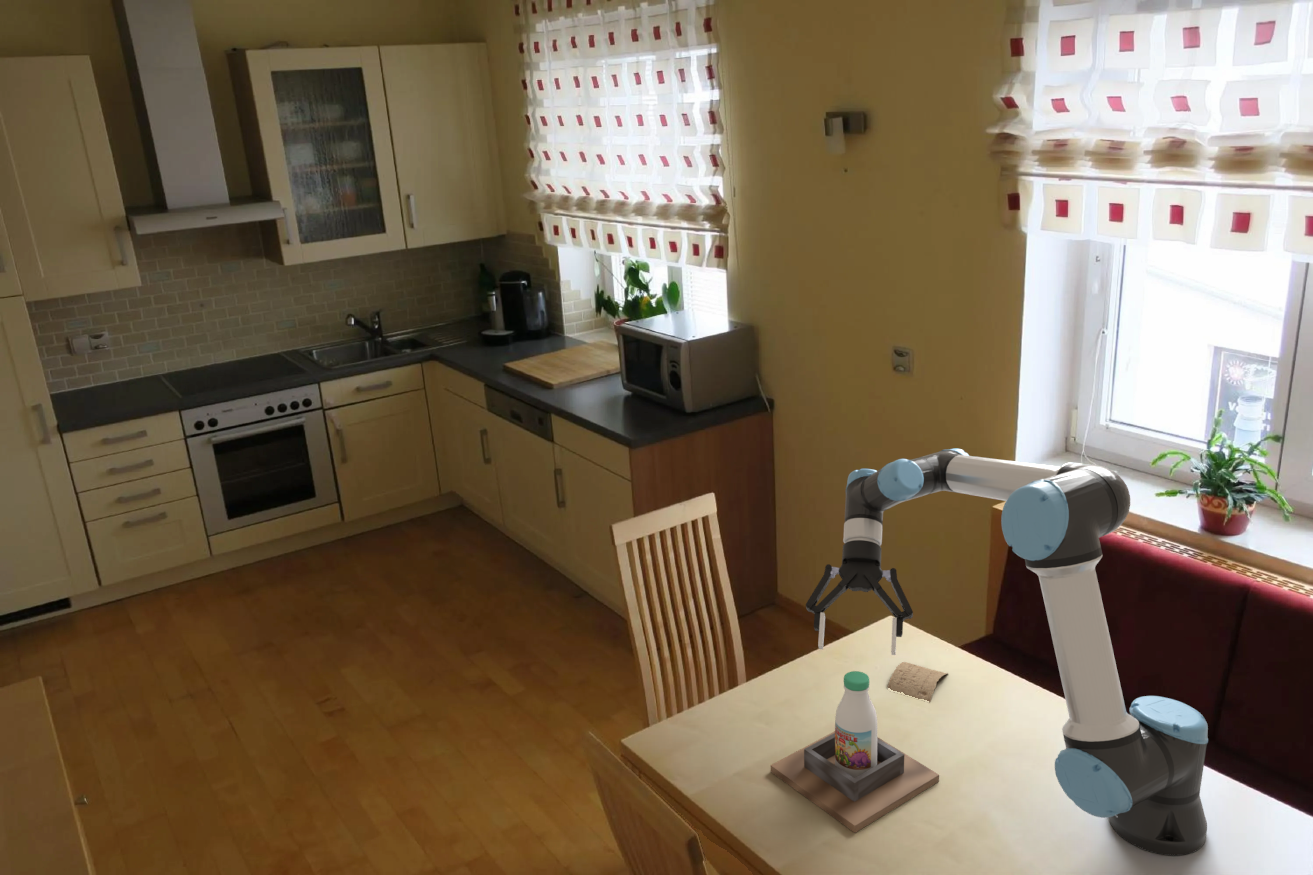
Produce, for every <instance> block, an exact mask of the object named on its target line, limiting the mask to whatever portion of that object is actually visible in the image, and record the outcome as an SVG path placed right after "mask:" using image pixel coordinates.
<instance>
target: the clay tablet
mask: <svg viewBox="0 0 1313 875" xmlns="http://www.w3.org/2000/svg"><path fill="white" fill-rule="evenodd" d="M945 675H948V672H943V671H939V670H935V669H931V668H928V667H924V666H921V665H917V664H913V663H911V662H906V661H904V662H901V663H899V664H898V665H897V666H895V669H894V671H893V672H892V674H891V677H890V679H889V680H888V681H889V682H888V684H887V687H888V688H890V689H891V690H893V691H897V692H900V693H901V692H903V693H904V694H905V695H909V696H912V697H915V698H918V699H917V700H919V699H924V700H927V701H929V703H931V700H932V697H933V694H934V692H935V690H936V687H937V682H939V680H940V679H941V678H942V677H944V676H945ZM905 695H904V696H905ZM912 697H911V698H912ZM915 698H914V699H915Z"/></svg>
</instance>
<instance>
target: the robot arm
mask: <svg viewBox="0 0 1313 875" xmlns="http://www.w3.org/2000/svg"><path fill="white" fill-rule="evenodd" d="M846 483H847V484H846V487H845V503H844V504H845V508H844V523H843V539H842V542H843V543H844V544H842V556H841V557H842V558H841V566H840V567H836V566H832V564H826V565H825V567H824V571H823V572H824V573H823V575H822V577H821V578H820V580H819V582H818V584H817V585H816V587H815V588H814V590H813V592H812V593H811V595H810V597H809V598H808V599H807V601H806V603H805V608H806V610H807V612H809V613H812V614H814V617H813V629H814V631H815V632H818V642H817V643H818V644H817V646H818V650H824V639H825V628H826V614H825V611H826V610H828V609H829V608H830V607H831V605H833V603H835V602H836V600H838V598H840V596H842V595H843V594H844V593H846V592H847V590H848V589H849V590H850V591H851V592H860V591H861V592H863V593H869V592H871V591H873V593H874V594H875V595H876V596H877V597H878V598H879V599H880V600H881V602H882V603H883V605H884V606H885V607H886V608H887V610H888V611H889V612H890V613H891V614H892V615H893V616H892V620H891V621H892V622H891V624H892V625H891V646H890V648H891V649H890V651H891V652H890V653H891V655H892V656H896V654H897V652H896V651H897V649H896V648H897V638H902V636H903V630H904V628H903V627H904V621H905V620H908V619H909V620H910V619H913V616H914V611H913V609H912V607H911V604H910V603H909V601H908V598H907V597H906V594H905V592H904V590H903V588H902V586H901V583H900V582H899V580H898V574H897V569H896V568H894V567H891V568H890V569H887V570H882V547H881V546H882V544H883V543H882V542H883V520H884V519H883V518H884V512H885V511H887V510H889V509H891V508H893V507H895V506H896V505H898V504H901V503H904V502H907V501H911V500H914V499H917V498H922V497H923V496H928V495H931V494H934V493H938V492H942V491H943V492H945V491H946V492H951V493H957V494H963V495H964V494H965V495H970V496H976V497H982V498H987V499H993V500H999V501H1004V504H1003V508H1002V512H1001V518H1000V519H1001V521H1000V523H1001V530H1002V531H1001V532H1002V534H1003V538H1004V541H1005V542H1006V543H1007V545H1008V547H1011V548H1012V549H1011V550H1012V552H1013V553H1014V554H1016V555H1017V557H1020V558H1021V559H1024V562H1025V566H1026V569H1028V570H1030V571H1031V572H1033V573H1035V574H1036V575H1037V576H1038V580H1039V584H1040V589H1041V594H1042V597H1043V602H1044V607H1045V611H1046V612H1045V613H1046V616H1047V621H1048V626H1049V630H1050V634H1051V640H1052V644H1053V648H1054V653H1055V657H1056V662H1057V666H1058V667H1057V668H1058V671H1059V676H1060V681H1061V685H1062V689H1063V693H1064V698H1065V703H1066V709H1067V712H1068V713H1067V714H1068V717H1069V718H1068V720H1067V721H1066V722H1065V723H1064V725H1062V728H1061V730H1062V731H1061V732H1062V735H1063V741H1064V745H1065V749H1062V750H1061V751H1060V752H1059V753H1058V754H1057V757H1056V758H1055V759H1054V773H1055V776H1056V779H1057V782H1058V784H1059V786H1060V787H1061V789H1062V790H1063V792H1064V793H1065V795H1066V796H1067V797H1068V798H1069V799H1070V800H1071V801H1072V803H1074V805H1076V807H1078V808H1079V809H1081V810H1082V811H1083V812H1085V813H1087V814H1089V815H1091V816H1093V817H1097V818H1101V819H1103V818H1104V819H1106V818H1108V820H1109V824H1110V825H1111V827H1112V828H1113V830H1114V831H1115V832H1116V833H1117V834H1118V835H1119V836H1120V837H1121V838H1123V839H1124V840H1126V841H1127V842H1128V843H1130V844H1132V845H1133V846H1135V847H1138V848H1140V849H1142V850H1145V851H1147V852H1150V853H1154V854H1159V855H1164V856H1165V855H1166V856H1184V855H1189V854H1191V853H1192V854H1193V853H1194V852H1196V851H1198V850H1200V849H1201V848H1202V847H1203V846H1204V844H1205V843H1206V839H1207V832H1208V823H1207V818H1206V815H1205V811H1204V807H1203V802H1202V800H1201V796H1200V793H1201V788H1202V787H1201V786H1202V779H1203V774H1204V766H1205V759H1206V751H1207V745H1208V743H1209V738H1208V730H1209V728H1208V727H1209V726H1208V723H1207V721H1206V719H1205V717H1204V716H1203V714H1201V712H1199V711H1198V710H1197V709H1195V708H1193V707H1192V706H1190V705H1188V704H1186V703H1185V702H1182V701H1179V700H1176V699H1174V698H1170V697H1169V698H1168V697H1164V696H1159V695H1146V696H1145V695H1144V696H1139V697H1137V698H1135V699H1134V700H1133V701H1132V702H1131V704H1130V707H1129V713H1128V712H1127V708H1126V705H1125V700H1124V696H1123V690H1122V687H1121V682H1120V677H1119V676H1120V675H1119V673H1118V669H1117V664H1116V663H1117V662H1116V659H1115V655H1114V648H1113V645H1112V640H1111V635H1110V632H1109V630H1110V629H1109V626H1108V622H1107V618H1106V612H1105V609H1104V604H1103V600H1102V593H1101V590H1100V584H1099V582H1098V581H1099V580H1098V574H1097V572H1096V566H1097V564H1099V562H1100V561H1101V559H1102V558H1103V551H1102V546H1101V542H1100V538H1101V537H1104V536H1107V535H1109V534H1111V533H1113V532H1115V531H1116V530H1117V529H1118V528H1120V527H1121V526H1122V525H1123V523H1124V522H1125V521H1126V519H1127V517H1128V515H1129V512H1130V508H1131V495H1130V490H1129V488H1128V486H1127V484H1126V482H1125V481H1124V479H1123V478H1122V477H1121V476H1120V475H1119V474H1117V473H1116V472H1115V471H1113V470H1112V469H1110V468H1109V467H1106V466H1103V465H1098V464H1093V463H1092V464H1090V463H1081V462H1072V461H1071V462H1067V463H1064V464H1063V465H1061V466H1055V465H1047V464H1042V463H1041V464H1039V463H1030V462H1022V461H1014V460H1006V459H997V458H991V457H990V458H989V457H981V456H974V455H973V456H972V455H969V453H968V452H966V451H965V450H964V449H961V448H950V449H949V448H948V449H942V450H940V451H938V452H933V453H930V454H927V455H924V456H920V457H917V458H913V459H907V458H899V459H896V460H893V461H892V462H889V463H886V464H885V465H884V466H883V467H882V468H880V469H879V470H876V469H874V468H873V469H871V468H860V469H855V470H853V471H851V472H850V473H849V474H848V477H847V482H846ZM837 575H839V576H840V579H841V580H840V581H839V582H838V583H837V585H836V586H835V587H834V588H833V589H832V590H831V591H830V592H829V593H828V594H827V595H826V596H825V597H824V598H823V599H822V600H821V601H820V602H819V600H820V599H821V597H822V595H823V594H824V592H825V591H826V589H827V587H828V586H829V584H830V582H831V580H832V579H834V578H836V576H837ZM883 578H885V579H886V581H887V582H890V584H891V587H892V590H893V591H894V594H895V596H896V598H897V599H898V602H899V604H900V606H901V608H902V610H903V611H901V609H900V608H899V607H898V605H897V604H896V603H895V602H894V601H893V600H892V598H891V597H890V596H889V594H888V593H887V592H886V591H885V590H884V589H883V587H882V586H881V584H880V581H881V580H882V579H883ZM818 602H819V603H818Z"/></svg>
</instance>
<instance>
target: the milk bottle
mask: <svg viewBox="0 0 1313 875" xmlns="http://www.w3.org/2000/svg"><path fill="white" fill-rule="evenodd" d="M843 689H844V691H843V692H844V693H843V695H842V698H841V700H840V701H839V703H838V705H837V708H836V711H835V717H834V718H835V719H834V720H835V721H834V722H835V724H834V731H835V765H836V766H837V767H839V768H840V769H842V770H843V771H845V772H846V773H848V774H849V775H851V776H852V777H854V778H855V777H857V776H859V775H861V774H862V773H864V772H866V771H868V770H869V769H871V768H873V767H875V766H876V765H877V737H878V717H877V716H878V715H877V711H876V707H875V705H874V704H873V701H872V700H871V697H870V694H869V690H870V677H869V675H868V674H867V673H865V672H863V671H860V670H859V671H857V670H852V671H849V672H847V673H845V674H844V677H843Z"/></svg>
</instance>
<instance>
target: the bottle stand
mask: <svg viewBox="0 0 1313 875" xmlns="http://www.w3.org/2000/svg"><path fill="white" fill-rule="evenodd" d="M770 773H772V774H773V775H775V776H776V777H778V778H779V780H781V781H783V782H784V783H785V784H787V785H788V786H790V787H791V788H792V789H794V790H795V791H796V792H798V793H799V794H800V795H802V796H803V797H805V798H806V799H808V801H810V802H812V803H813V804H814V805H816V806H817V807H819V808H820V809H821V810H822V811H824V812H825V813H827V814H828V815H829V816H831V817H832V818H834V819H835V820H836V821H838V822H839V823H841V824H842V825H843V826H845V827H846V828H848V829H849V830H850V831H852V832H853V833H857V832H859V831H860V830H862V829H863V828H865V827H867V826H869V825H870V824H872V823H874V822H875V821H877V820H878V819H880V818H882V817H884V816H885V815H887V814H888V813H889V812H891V811H893V810H895V809H897V808H898V807H899V806H902V805H903V804H905V803H906V802H908V801H910V800H911V799H912V798H915V797H916V796H918V795H920V794H921V793H923V792H924V791H926V790H927V789H930V788H931V787H933V786H934V785H935V784H938V783H939V782H940V773H939V774H938V773H937V772H936V771H934V770H933V769H931V768H929V767H927V766H926V765H924V764H922V763H921V762H919V761H917V760H916V759H915V758H913V757H911V756H910V755H908V754H906V753H904V752H903V751H901V750H900V749H898V748H896V747H895V746H893V745H892V744H890V743H888V742H886V740H883V739H881V738H880V737H878V736H877V765H876V766H875V767H873V768H871V769H869V770H868V771H866V772H864V773H862V774H861V775H859V776H857V777H855V778H854V777H852V776H851V775H849V774H848V773H846V772H845V771H843V770H842V769H840V768H839V767H837V766H836V765H835V730H834V731H833V732H830V733H829V734H827V735H825V736H823V737H821V738H819V739H817V740H816V741H814V742H812V743H809V744H807V745H806V746H804V747H802V748H800V749H798V750H796V751H794V752H793V753H791V754H789V755H787V756H785V757H783V758H781V759H779V760H778V761H776V762H774V763H772V764H770Z"/></svg>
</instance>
